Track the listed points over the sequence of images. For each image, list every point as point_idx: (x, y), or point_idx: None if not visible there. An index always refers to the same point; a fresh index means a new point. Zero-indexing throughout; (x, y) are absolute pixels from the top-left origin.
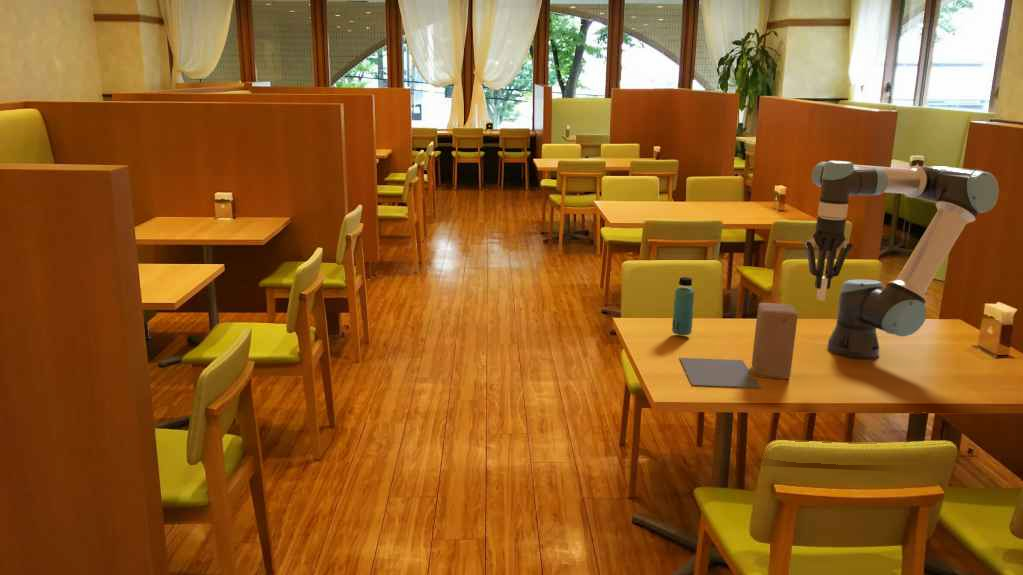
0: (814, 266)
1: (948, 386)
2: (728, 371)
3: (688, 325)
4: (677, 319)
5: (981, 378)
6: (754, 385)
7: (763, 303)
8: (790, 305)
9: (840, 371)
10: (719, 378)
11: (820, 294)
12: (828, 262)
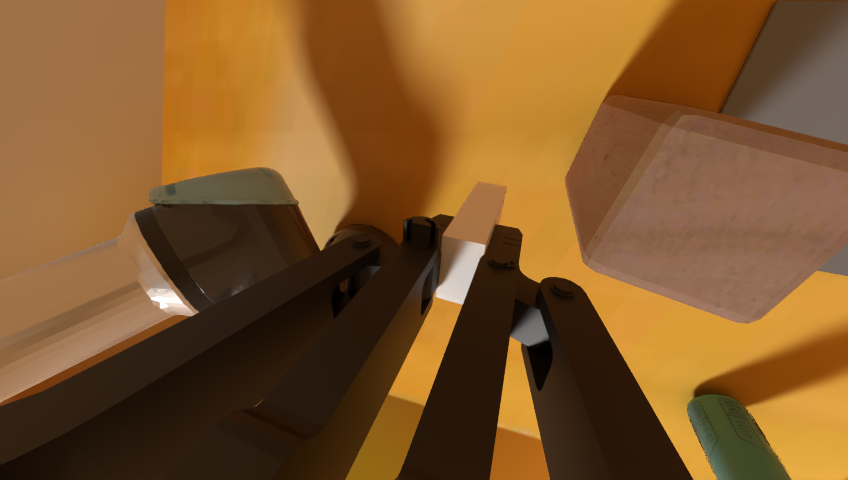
0: (582, 346)
1: (256, 70)
2: None
3: (724, 416)
4: (768, 444)
5: (203, 118)
6: (791, 20)
7: (758, 301)
8: (614, 253)
9: (435, 160)
10: None
11: (501, 198)
12: (386, 357)
